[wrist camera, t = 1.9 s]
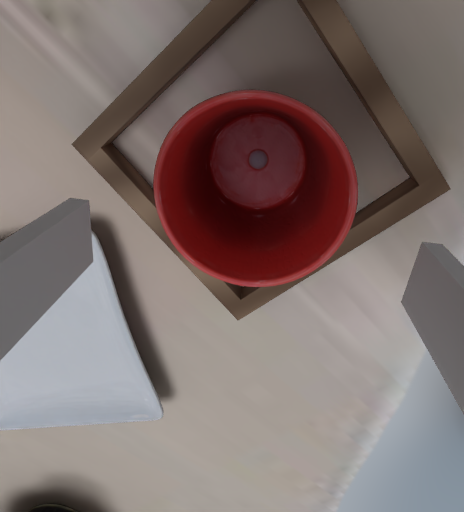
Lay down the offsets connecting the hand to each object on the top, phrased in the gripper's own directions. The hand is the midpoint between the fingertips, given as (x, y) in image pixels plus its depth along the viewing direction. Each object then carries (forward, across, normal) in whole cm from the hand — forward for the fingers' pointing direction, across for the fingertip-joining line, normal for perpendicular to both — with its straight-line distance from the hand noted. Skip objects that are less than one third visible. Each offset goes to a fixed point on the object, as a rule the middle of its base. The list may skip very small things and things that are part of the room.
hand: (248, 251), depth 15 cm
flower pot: (+15, 0, 0) cm, 15 cm away
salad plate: (+16, -19, -19) cm, 31 cm away
